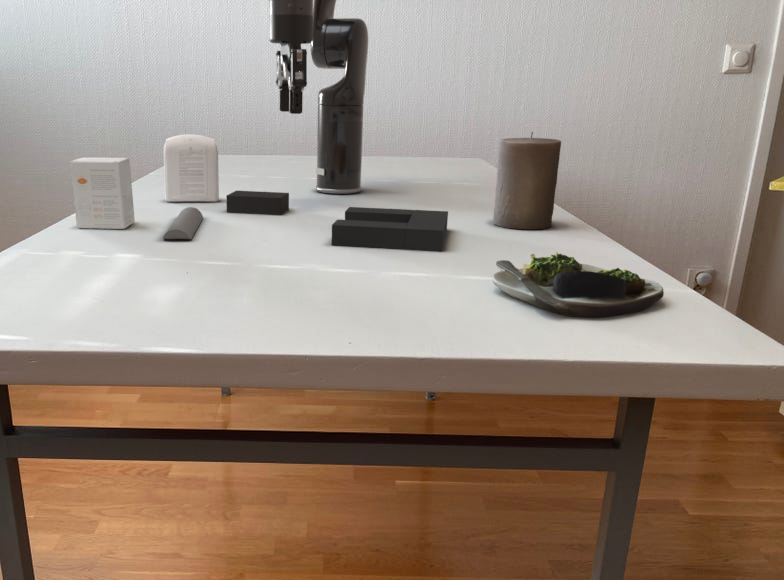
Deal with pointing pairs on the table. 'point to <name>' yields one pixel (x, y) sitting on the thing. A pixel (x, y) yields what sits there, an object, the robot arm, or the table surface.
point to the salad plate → (576, 287)
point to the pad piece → (258, 202)
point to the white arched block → (191, 169)
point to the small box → (102, 192)
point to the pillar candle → (526, 182)
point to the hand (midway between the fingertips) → (290, 112)
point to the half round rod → (184, 224)
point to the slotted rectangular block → (391, 228)
